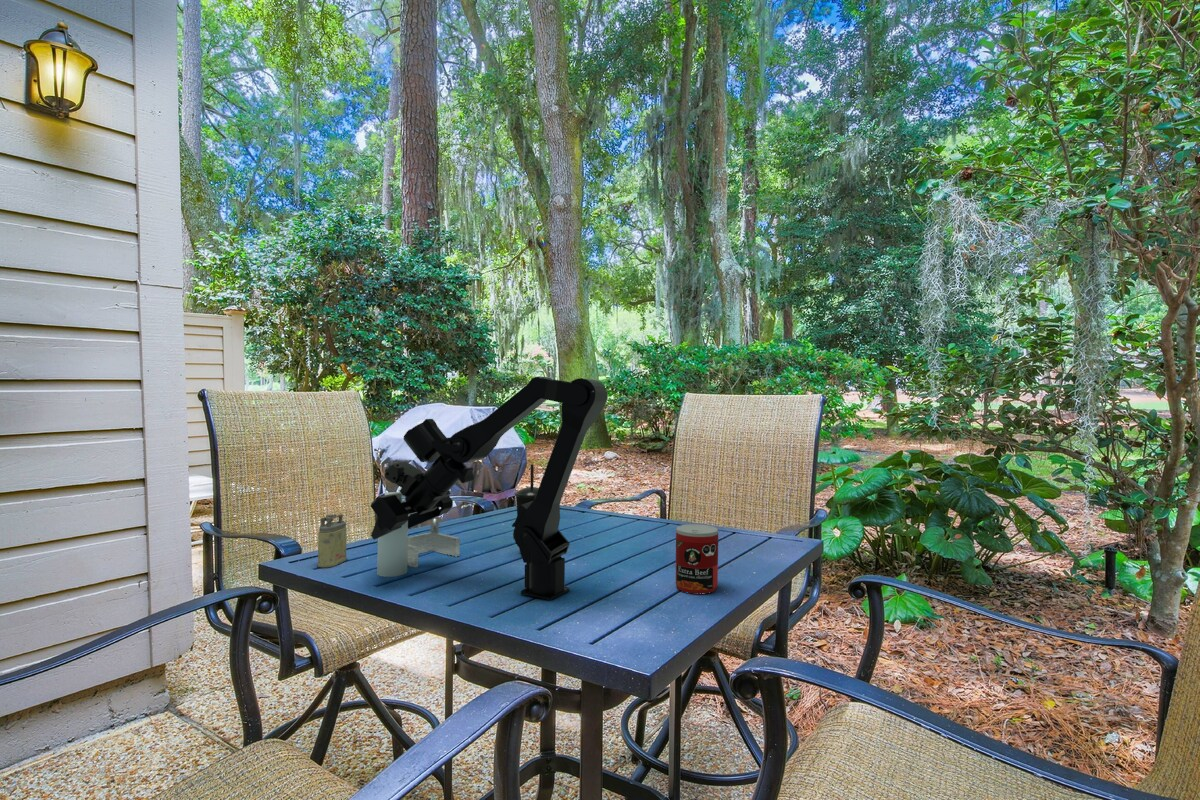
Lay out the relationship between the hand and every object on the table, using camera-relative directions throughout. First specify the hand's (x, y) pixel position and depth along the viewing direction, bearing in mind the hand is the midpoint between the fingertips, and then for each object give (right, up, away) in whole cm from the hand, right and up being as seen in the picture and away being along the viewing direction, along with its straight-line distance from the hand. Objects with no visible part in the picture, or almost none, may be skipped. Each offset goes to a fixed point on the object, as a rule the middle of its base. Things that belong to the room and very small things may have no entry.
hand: (389, 532), depth 115 cm
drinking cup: (+26, -8, +15) cm, 31 cm away
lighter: (-14, -8, +6) cm, 17 cm away
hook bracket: (+4, -8, +11) cm, 14 cm away
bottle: (+1, -8, 0) cm, 8 cm away
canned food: (+59, -9, -8) cm, 61 cm away
